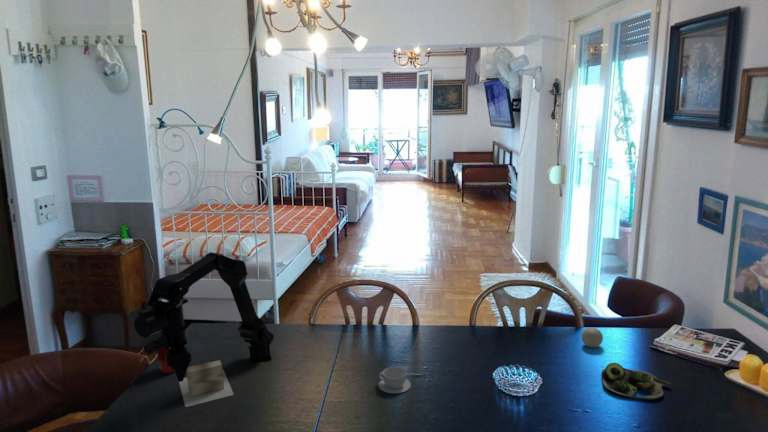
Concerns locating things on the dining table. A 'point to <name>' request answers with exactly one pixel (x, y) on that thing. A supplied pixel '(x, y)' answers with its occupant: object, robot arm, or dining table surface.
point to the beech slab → (205, 378)
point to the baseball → (592, 337)
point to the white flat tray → (204, 397)
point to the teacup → (394, 380)
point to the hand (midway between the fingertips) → (179, 373)
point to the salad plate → (631, 382)
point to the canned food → (164, 361)
